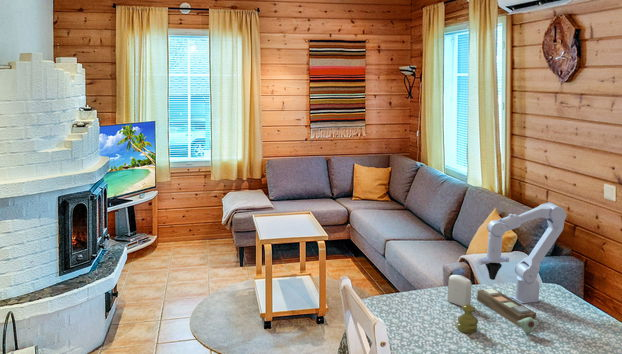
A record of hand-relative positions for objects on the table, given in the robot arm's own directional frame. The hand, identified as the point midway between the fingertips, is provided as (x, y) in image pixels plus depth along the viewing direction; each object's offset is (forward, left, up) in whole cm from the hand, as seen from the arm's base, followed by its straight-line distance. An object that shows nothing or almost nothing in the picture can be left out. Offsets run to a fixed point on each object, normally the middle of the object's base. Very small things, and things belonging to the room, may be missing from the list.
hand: (492, 279), depth 251 cm
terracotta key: (+2, +9, -7) cm, 12 cm away
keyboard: (+2, +12, -9) cm, 16 cm away
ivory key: (+2, +3, -6) cm, 7 cm away
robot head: (+7, +33, -10) cm, 35 cm away
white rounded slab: (+16, 0, -10) cm, 19 cm away
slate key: (+2, +22, -6) cm, 23 cm away
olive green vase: (+27, +23, -10) cm, 37 cm away
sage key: (+2, +16, -7) cm, 17 cm away
